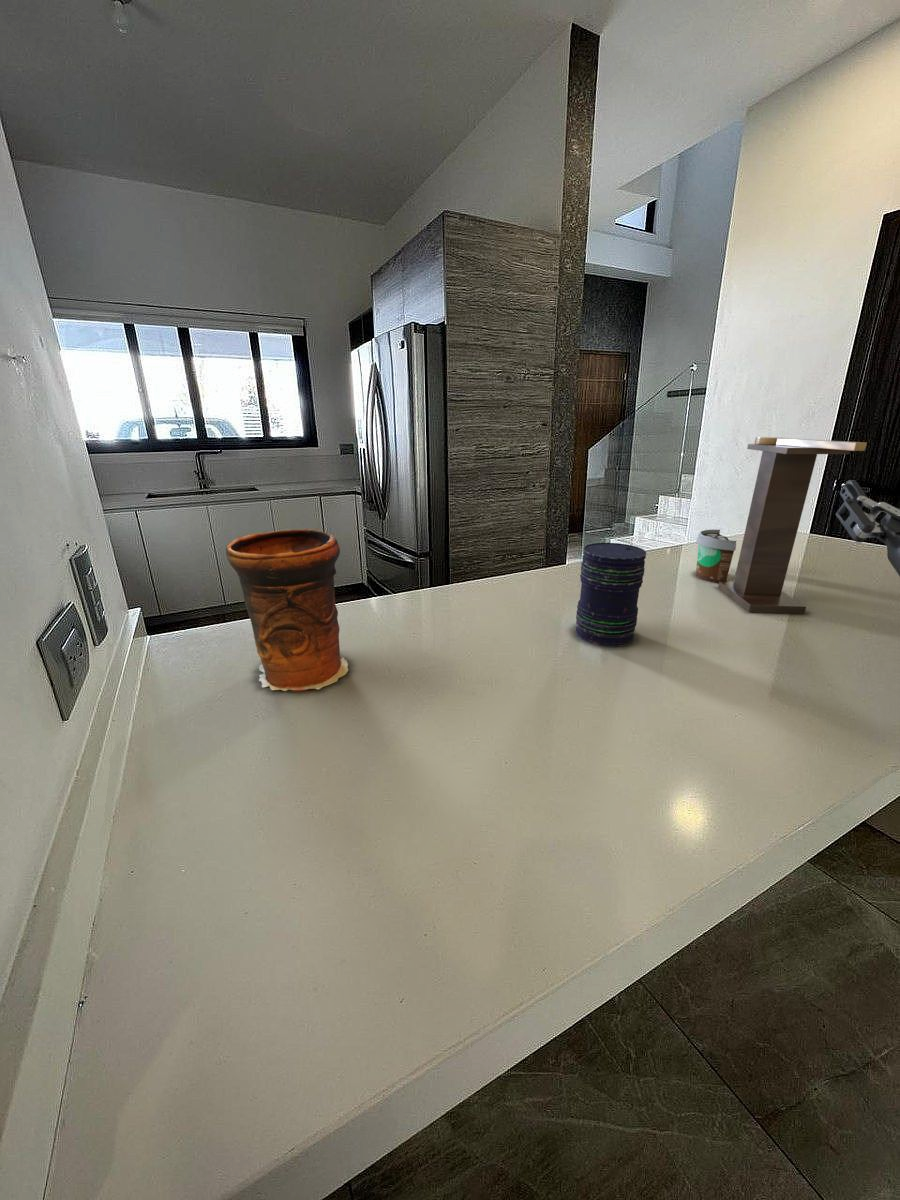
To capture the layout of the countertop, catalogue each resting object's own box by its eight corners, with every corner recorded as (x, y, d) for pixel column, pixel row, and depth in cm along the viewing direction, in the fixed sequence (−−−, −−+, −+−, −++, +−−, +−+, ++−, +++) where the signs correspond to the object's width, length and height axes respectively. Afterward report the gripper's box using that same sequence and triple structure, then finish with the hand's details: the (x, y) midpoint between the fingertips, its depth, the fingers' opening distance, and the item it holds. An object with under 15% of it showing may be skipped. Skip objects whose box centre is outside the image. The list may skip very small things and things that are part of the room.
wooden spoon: (874, 450, 73) (876, 442, 73) (844, 451, 73) (847, 442, 73) (772, 443, 94) (773, 436, 94) (748, 443, 94) (750, 437, 94)
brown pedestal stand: (804, 614, 90) (851, 448, 80) (748, 612, 91) (787, 447, 81) (766, 589, 103) (802, 443, 93) (717, 587, 104) (748, 443, 94)
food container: (684, 568, 118) (691, 528, 115) (711, 569, 117) (719, 529, 113) (697, 583, 107) (706, 540, 103) (727, 585, 106) (737, 541, 102)
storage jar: (600, 651, 76) (611, 561, 71) (562, 628, 85) (570, 546, 79) (647, 640, 80) (661, 554, 75) (607, 619, 88) (616, 540, 83)
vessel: (237, 702, 63) (209, 556, 56) (260, 653, 76) (239, 529, 69) (348, 693, 65) (335, 550, 58) (352, 646, 78) (341, 525, 71)
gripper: (860, 588, 61) (811, 505, 71) (984, 592, 59) (916, 506, 69) (900, 546, 55) (840, 462, 65) (1038, 549, 54) (955, 462, 64)
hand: (879, 485), depth 67 cm, fingers open, 8 cm apart
